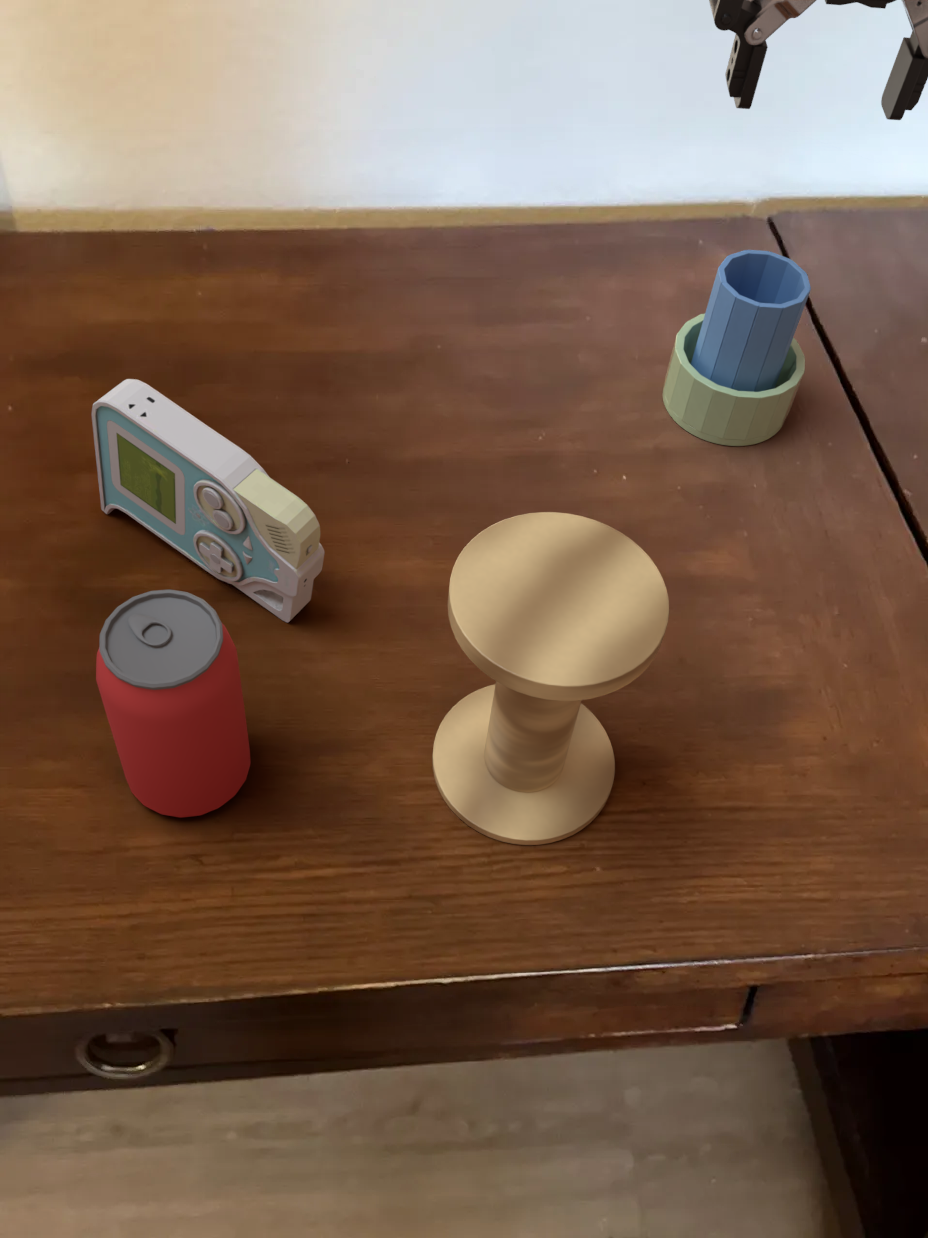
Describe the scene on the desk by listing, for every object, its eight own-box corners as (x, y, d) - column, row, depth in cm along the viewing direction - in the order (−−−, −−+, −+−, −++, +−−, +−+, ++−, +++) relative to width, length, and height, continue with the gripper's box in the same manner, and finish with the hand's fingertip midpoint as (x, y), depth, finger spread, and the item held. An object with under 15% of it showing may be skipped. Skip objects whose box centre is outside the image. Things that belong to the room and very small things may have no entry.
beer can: (186, 695, 68) (159, 557, 58) (277, 758, 66) (264, 626, 56) (99, 777, 64) (55, 645, 55) (192, 846, 62) (163, 721, 53)
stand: (643, 739, 68) (704, 569, 56) (561, 879, 63) (610, 724, 51) (488, 659, 71) (516, 481, 59) (397, 787, 65) (407, 619, 53)
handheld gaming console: (287, 649, 72) (97, 513, 75) (316, 619, 74) (129, 487, 77) (301, 540, 63) (84, 389, 66) (334, 509, 65) (120, 362, 67)
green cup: (804, 390, 87) (823, 341, 83) (758, 465, 82) (776, 416, 78) (692, 343, 89) (706, 293, 86) (641, 413, 84) (654, 363, 81)
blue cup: (779, 388, 86) (822, 271, 78) (748, 436, 83) (790, 319, 75) (704, 356, 87) (739, 238, 79) (671, 402, 84) (705, 284, 76)
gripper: (783, -210, 52) (697, 136, 65) (1103, -182, 53) (956, 153, 66) (758, -273, 57) (682, 62, 70) (1053, -246, 57) (924, 80, 70)
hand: (815, 106), depth 68 cm, fingers open, 8 cm apart
